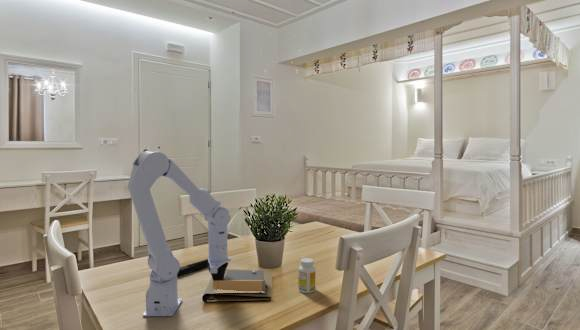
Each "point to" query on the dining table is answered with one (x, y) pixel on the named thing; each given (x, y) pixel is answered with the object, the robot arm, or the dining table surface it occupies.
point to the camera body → (245, 275)
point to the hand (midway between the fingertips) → (218, 287)
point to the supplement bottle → (306, 276)
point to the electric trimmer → (193, 267)
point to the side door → (239, 285)
